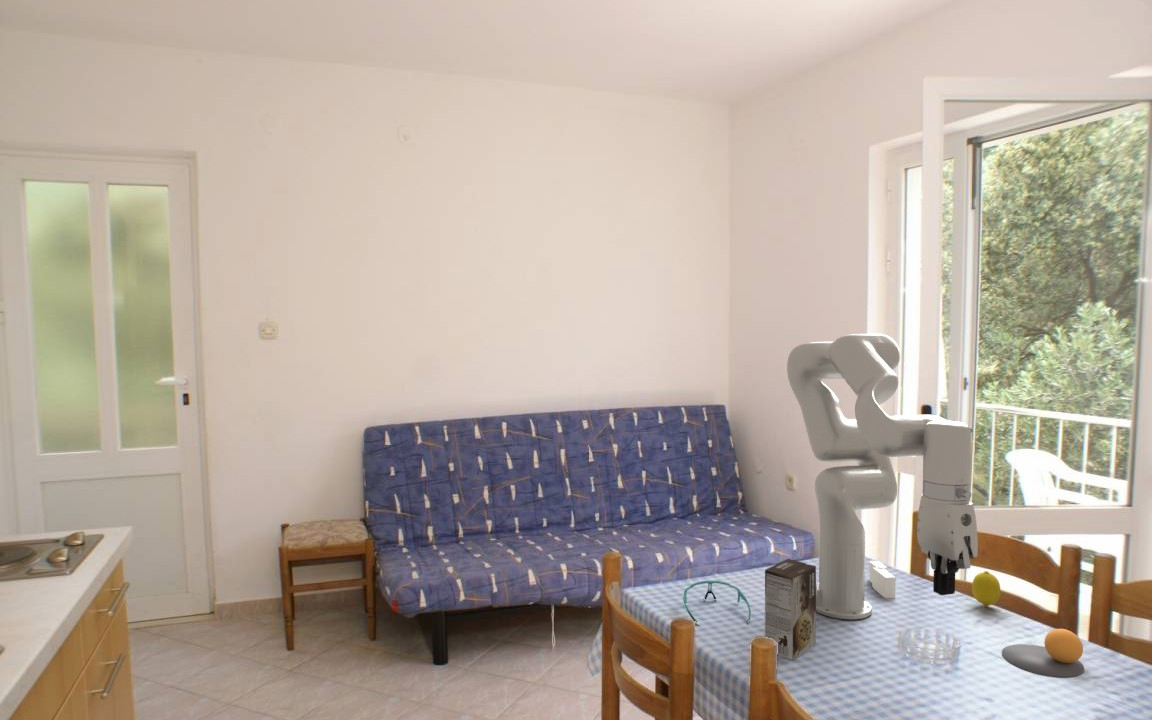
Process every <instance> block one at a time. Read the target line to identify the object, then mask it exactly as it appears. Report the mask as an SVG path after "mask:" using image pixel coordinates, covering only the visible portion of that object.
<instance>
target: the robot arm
mask: <svg viewBox="0 0 1152 720" xmlns="http://www.w3.org/2000/svg"><path fill="white" fill-rule="evenodd" d="M900 360H901V352H900V349H899V346H898V344H897V343H896V341H895V340H894V339H893V338H892V337H890V336H889V335H886V334H883V333H859V334H858V333H855V334H854V333H853V334H851V333H850V334H845V335H842V336H839V337H838V338H835V339H834V341H813V342H807V343H806V342H805V343H802V344H799V345H796V346H795V347H794V348H792V349H791V351H790V353H789V355H788V357H787V363H786V373H787V377H788V382H789V385H790V388H791V391H792V392H793V394H794V397H795V398H796V401H797V402H798V405H799V406H800V409H801V413H802V418H803V423H804V425H805V429H806V430H805V431H806V433H807V437H808V441H809V444H810V447H811V451H812V453H813V455H814V457H815V458H816V459H817V460H818V461H820V462H821V463H847V462H857V465H842V466H832V467H828V468H825V469H824V470H822V471H820V472H819V473H818V474H817V476H816V478H815V480H814V492H815V497H816V503H817V510H818V520H819V521H818V525H819V526H818V529H819V530H818V537H819V539H818V541H819V542H818V582H817V583H816V613H819V614H820V615H823V616H825V617H830V618H833V619H839V620H862V619H865V618H868V617H869V616H871V615H872V612H873V607H872V605H871V603H869V602H868V601H866V599H865V595H866V594H865V589H866V588H865V587H866V585H865V584H866V582H865V580H866V579H865V578H866V531H865V527H864V525H863V523H862V521H861V520H860V519H859V518H858V516H857V514H856V511H861V510H872V509H873V510H874V509H881V508H888V507H889V506H891V505H893V504H894V503H895V501H896V499H897V497H898V483H897V478H896V475H895V471H894V468H893V465H892V462H891V458H898V457H914V456H915V457H920V456H921V457H922V494H921V497H920V500H919V501H920V502H919V508H918V512H917V513H918V516H917V528H916V530H917V531H916V532H917V533H916V536H917V538H916V539H917V543H918V544H919V546H920V551H921V552H922V553H924V554H925V555H926V556H927V557H928V559H929V560H930V567H931V569H932V570H933V582H932V583H933V587H932V588H933V589H932V591H933V592H934V593H936V594H937V595H939V596H947V595H954V594H955V593H956V574H957V573H959V570H966V569H970V568H971V561H970V559H977V557H978V550H979V545H978V544H979V543H978V526H977V518H976V512H975V507H974V503H973V502H971V498H972V492H971V470H972V469H971V460H972V457H971V456H972V431H971V428H970V426H969V425H968V424H967V423H965V422H962V421H956V420H955V421H953V420H948V419H946V418H943V417H941V416H938V415H935V414H934V415H933V414H918V415H917V414H912V415H911V414H909V415H908V414H907V415H891V416H890V415H888V414H887V413H886V412H885V411H884V410H883V409H882V407H880V405H882V404H884V403H886V402H887V401H888V400H890V399H891V398H892V397H893V396H894V395H895V393H897V392H896V391H897V390H898V387H899V377H898V376H897V374H896V373H895V372H894V370H895V369H896V368H897V367H898V365H899V363H900ZM834 379H835V380H836V379H837V380H838V379H843V380H844V381H845V382H846V384H847V385H848V386H849V388H850V389H851V390H852V391H853V393H854V395H856V396H857V397H856V401H855V405H854V415H855V418H849V419H848V418H847V417H845V415H844V413H843V411H842V407H841V404H840V401H839V398H838V397H837V396H836V394H835V393H834V391H832V389H831V388H829V387H828V386H827V385H826V384H825V383H824V382H823V380H834Z"/></svg>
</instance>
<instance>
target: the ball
mask: <svg viewBox="0 0 1152 720" xmlns="http://www.w3.org/2000/svg"><path fill="white" fill-rule="evenodd" d="M1043 643H1044V647H1045V648H1046V650H1047V652H1048V654H1049V655H1050V656H1051V657H1052V658H1053V659H1055V660H1057V661H1059V662H1062V663H1073V662H1076V661H1077V660H1079V661H1080V659H1081V657H1082V656H1083V653H1084V646H1083V643H1082V641H1081V639H1080V637H1079V636H1078V635H1077V634H1075V633H1074V632H1072V631H1071V630H1068V629H1065V628H1055V629H1052V630H1050V631H1049V632H1048V633H1047V634H1046V636H1045V638H1044V642H1043Z"/></svg>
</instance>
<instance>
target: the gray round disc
mask: <svg viewBox="0 0 1152 720" xmlns="http://www.w3.org/2000/svg"><path fill="white" fill-rule="evenodd" d="M1001 656H1002V657H1003V659H1004V660H1005V661H1007V662H1008V663H1010V664H1011V665H1013V666H1015V667H1017V668H1019V669H1021V670H1024V671H1027V672H1031V673H1034V674H1037V675H1042V676H1047V677H1053V678H1055V677H1056V678H1072V677H1077V676H1080V675H1082V674H1083V673H1084V672H1085V666H1084V664H1083V663H1082V662H1081V661H1080V659H1079V660H1077V661H1076V662H1073V663H1062V662H1059V661H1057V660H1055V659H1053V658H1052V657H1051V656H1050V655H1049V654H1048V652H1047V650H1046V648H1045V646H1041V645H1037V644H1021V643H1020V644H1018V643H1017V644H1011V645H1007V646H1005V647H1004V648H1002V650H1001Z"/></svg>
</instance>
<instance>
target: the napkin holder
mask: <svg viewBox="0 0 1152 720" xmlns="http://www.w3.org/2000/svg"><path fill="white" fill-rule="evenodd" d="M868 562H869V563H868V582H870V583H871V584H872V587H873V589H874V590H875V591H876V592H878V593H879V595H881V596H882V597H883V598H884V599H895V598H896V584H897V583H896V579H897V577H896V576H894V575H893V574H892V573H890V572H889V571H888V566H886V565H885V564H884V563H882V562H881V561H879V560H871V561H870V560H869V561H868Z"/></svg>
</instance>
